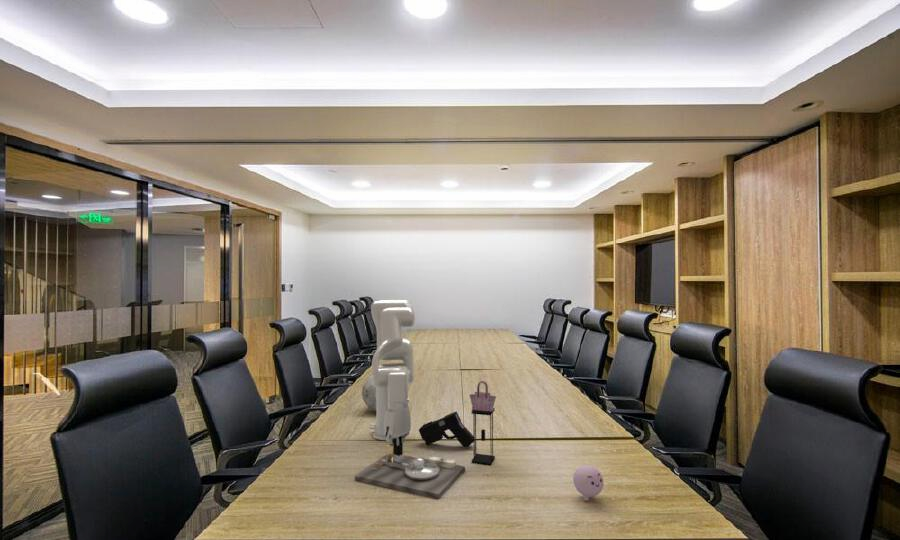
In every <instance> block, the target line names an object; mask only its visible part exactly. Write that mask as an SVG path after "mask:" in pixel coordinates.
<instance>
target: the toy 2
mask: <svg viewBox="0 0 900 540" xmlns="http://www.w3.org/2000/svg"><path fill="white" fill-rule="evenodd" d="M572 481H573V486H574V487H575V489H576V491H577V492H578V493H579V494H580V495H582V497H583V501H585V502H588V501H589V499H592V500H594V499H596V496H598V495H599V494H600V493H601V492H602V491H603V487H604V478H603V475H602V474H601V472H600V471H599V469H598V468H596V467H595V466H594V465H590V464H583V465H580V466H578V467H577V468H576V469H575V471H574V473H573V476H572Z"/></svg>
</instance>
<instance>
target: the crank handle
mask: <svg viewBox="0 0 900 540" xmlns="http://www.w3.org/2000/svg"><path fill="white" fill-rule="evenodd" d="M386 454H387V460H383V459H382V460H381V463H384V464H389V466H391V467H396V468H400V469H404V470H405V475H406V476H407V477H408V478H410V479H413V480H429V479H433V478H435V477H437V476H438V475H439V473H440V468H439V465H438V464H436V463H434V462H430V461H424V459H425V457H424V456H421V455H420V456H413V457H414V458H413V463H410V464H407V463H402V462H398V461H394V445H393V444H392V443H387V445H386Z"/></svg>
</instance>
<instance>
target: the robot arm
mask: <svg viewBox="0 0 900 540" xmlns="http://www.w3.org/2000/svg"><path fill="white" fill-rule="evenodd" d="M370 313H371V317H372V320H373V323H374V325H375V328H376V350H375V352H374V353H373V357H372V360H371V370H372V371H371V375H372V377H373V383H374V385H375V386H376V411H375V412H376V416H375V417H376V420H375V421H376V423H374V422H371V423H370V425H369V429H370V430H374V432H372V437H373V439H375V440H379V441H386V442H387V443H388V444H393V445H394V454H395V455H397V456H400V455H404V454H403V453H404V452H403V451H404V450H403V446H404V445H403V444H404V443H405V439H406V437H407V436H409V435H410V431H411V427H412V423H411V422H412V421H411V411H410V407H409V401H410V399H409V384H411V383H413V382H414V377H415V371H414V369H415V368H414V367H415V366H414V349H413V343H412V341H411V340H410V339H409V338H405V337H403V331H402V330H403V329H402V328H409V327H413V326H414V325H415V321H416V317H415V316H416V315H415V310H414V308H413V305H411V302H410V301H409V300H408V299H379V300H376V301H373V302H372V303H371V306H370ZM400 360H401V361H402V362H393V363H392V362H390V363H382V364H380V361H400Z"/></svg>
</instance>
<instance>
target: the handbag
mask: <svg viewBox="0 0 900 540" xmlns="http://www.w3.org/2000/svg"><path fill="white" fill-rule="evenodd" d="M481 384H483V385H484V387H485V392H484V391H480V385H481ZM488 387H489V386H488V382H486V381H484V380H481V381H479V382H478V383H477V385H476V388H477V389H476V391H474V393H473V394H472V393H471V394H469V399H470V403H471V411H470V412H471V413H470V414H472V415H473V420H472V421H473V425H472V426H473V436H474V442H473V458H472V459H471V464H476V465H481V466H492V464H493V462H494V461H495V459H496V456H495V455H494V415H493V414H494V412H495V407H494V406H495V401H496V399H497V396H495V395H491V392H489V388H488ZM477 415H480V416H481V415H482V416H489V417H490V419H489V421H490V426H489V427H490V428H489V430H490V432H489V433H490V442H489V443H490V444H491V448H490V455H489V454H482V453H477ZM480 435H481V436H480V437H481V439H480V440H481V441H482V442H485V441H486V429H481V431H480Z"/></svg>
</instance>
